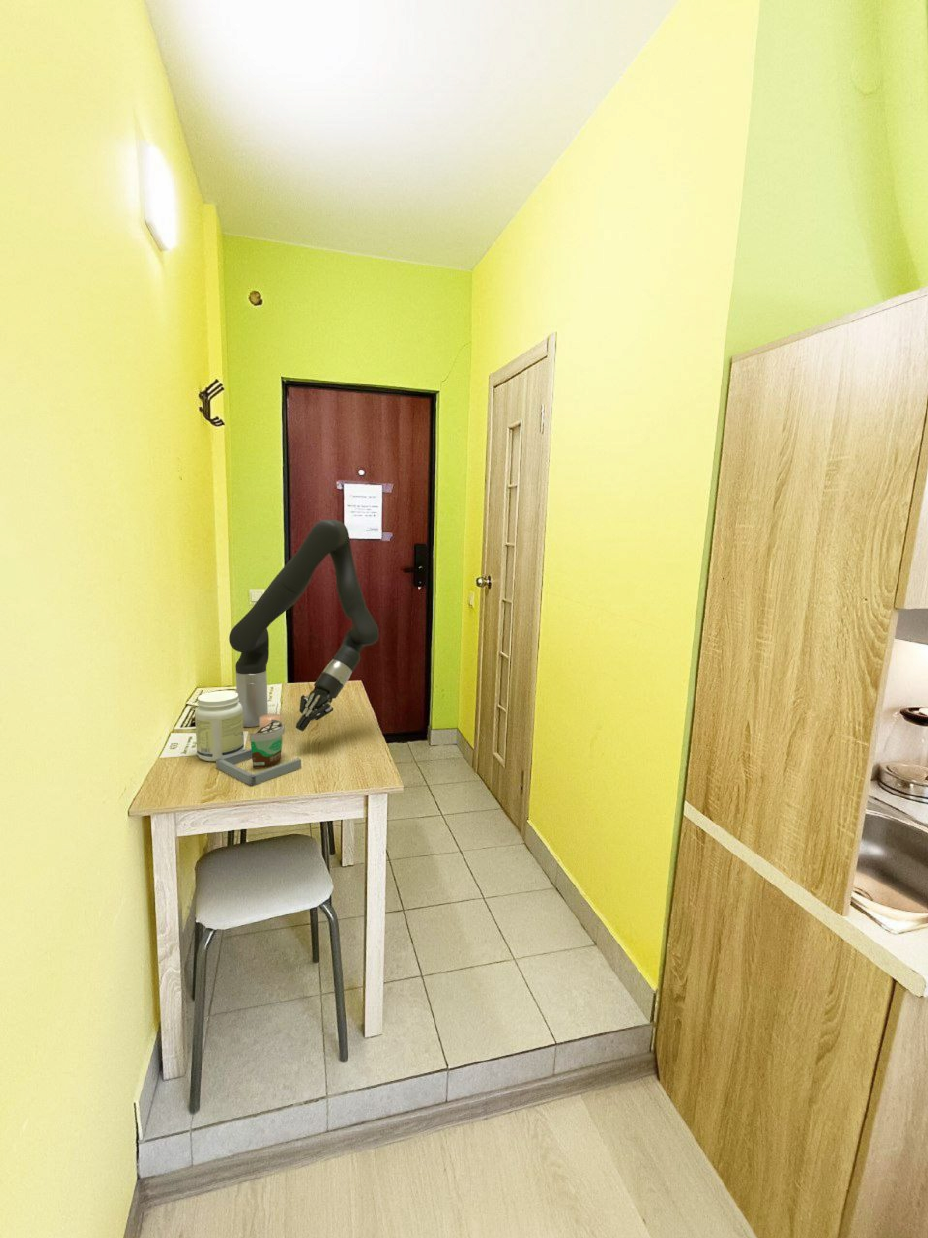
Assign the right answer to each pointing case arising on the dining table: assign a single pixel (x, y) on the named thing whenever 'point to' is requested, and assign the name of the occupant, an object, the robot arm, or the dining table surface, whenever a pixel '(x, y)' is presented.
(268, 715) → the peach rounded cylinder
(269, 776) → the frame
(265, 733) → the food container
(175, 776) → the dining table surface
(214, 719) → the supplement tub
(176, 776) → the dining table surface
